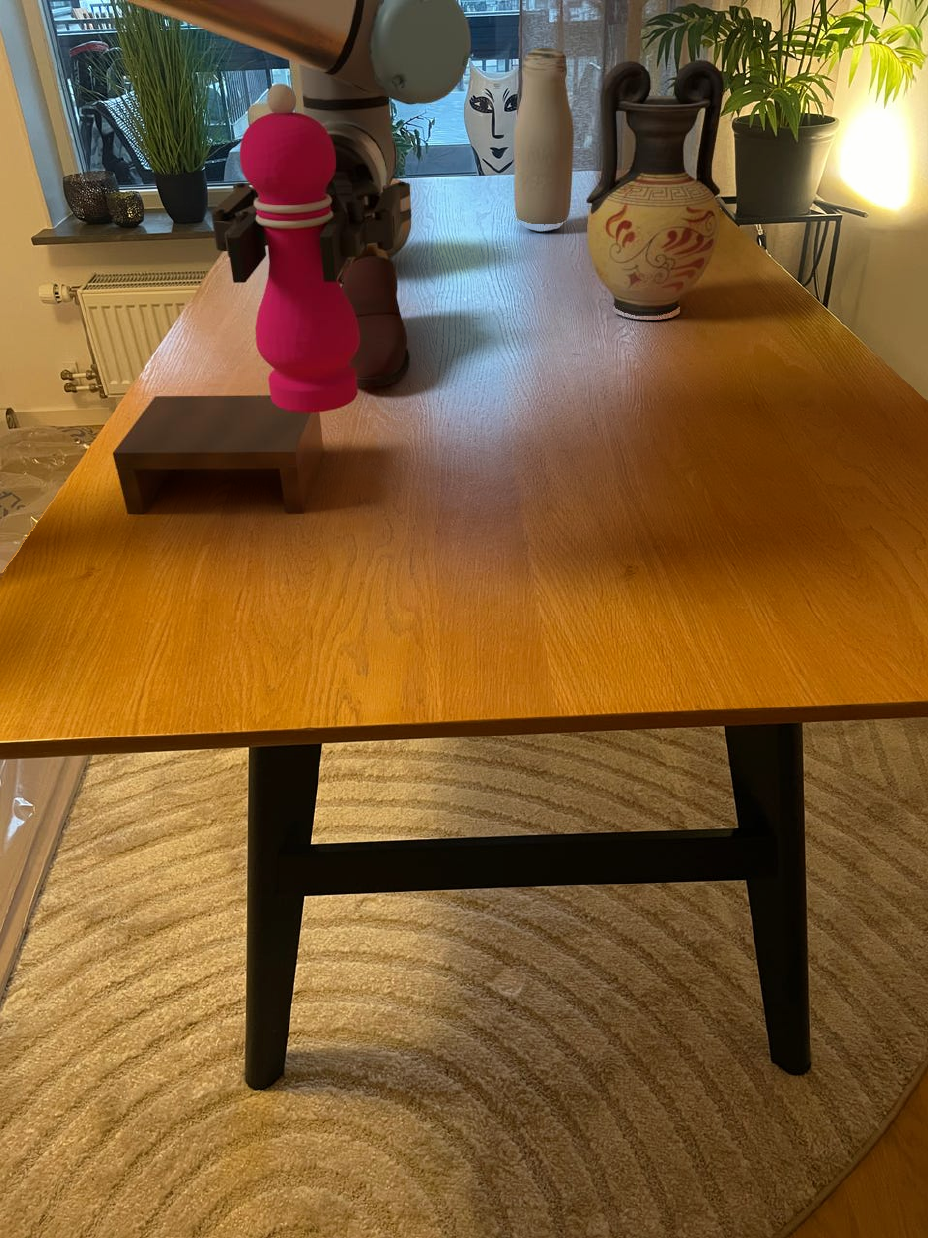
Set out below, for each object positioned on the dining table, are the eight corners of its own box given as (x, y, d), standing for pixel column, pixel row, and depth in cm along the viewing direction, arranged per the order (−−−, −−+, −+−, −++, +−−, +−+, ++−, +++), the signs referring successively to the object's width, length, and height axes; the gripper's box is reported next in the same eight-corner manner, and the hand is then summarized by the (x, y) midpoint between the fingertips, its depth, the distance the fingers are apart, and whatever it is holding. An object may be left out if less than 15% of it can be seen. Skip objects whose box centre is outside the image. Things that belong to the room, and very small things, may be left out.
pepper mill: (263, 420, 67) (215, 92, 56) (265, 382, 73) (222, 79, 61) (367, 412, 68) (342, 88, 56) (361, 375, 74) (337, 75, 62)
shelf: (127, 513, 88) (112, 452, 84) (167, 452, 98) (155, 395, 95) (303, 513, 87) (295, 451, 84) (323, 451, 98) (317, 394, 94)
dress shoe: (331, 401, 109) (320, 296, 102) (336, 322, 132) (328, 232, 125) (413, 397, 109) (408, 292, 103) (404, 319, 132) (399, 229, 125)
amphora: (675, 288, 142) (699, 51, 125) (733, 322, 129) (770, 62, 111) (562, 300, 138) (572, 57, 121) (611, 337, 125) (629, 70, 107)
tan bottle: (573, 224, 175) (580, 44, 159) (564, 238, 167) (572, 50, 151) (519, 222, 177) (521, 45, 161) (508, 236, 169) (509, 50, 153)
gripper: (447, 230, 81) (429, 319, 61) (233, 233, 81) (149, 321, 62) (444, 130, 76) (425, 192, 57) (218, 134, 77) (124, 196, 58)
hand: (281, 259), depth 60 cm, fingers closed on pepper mill, 5 cm apart
